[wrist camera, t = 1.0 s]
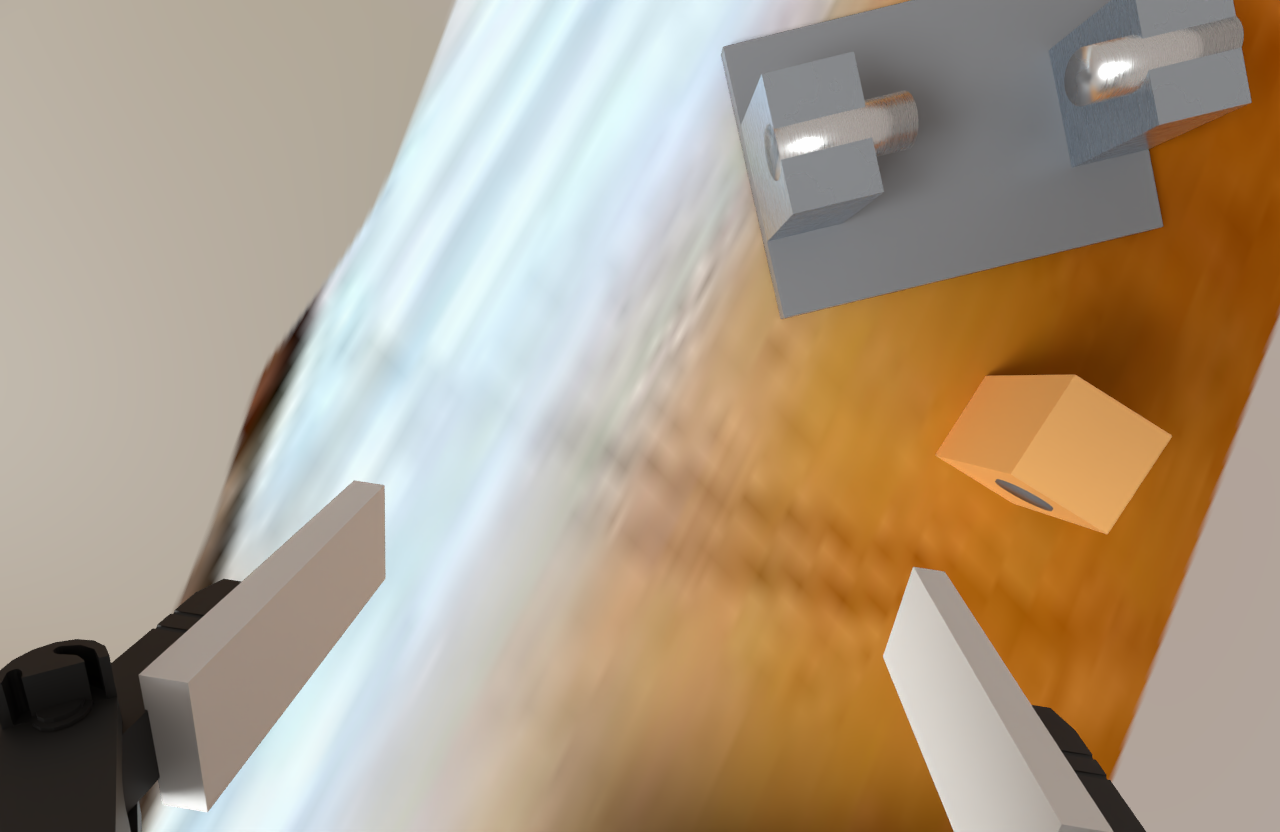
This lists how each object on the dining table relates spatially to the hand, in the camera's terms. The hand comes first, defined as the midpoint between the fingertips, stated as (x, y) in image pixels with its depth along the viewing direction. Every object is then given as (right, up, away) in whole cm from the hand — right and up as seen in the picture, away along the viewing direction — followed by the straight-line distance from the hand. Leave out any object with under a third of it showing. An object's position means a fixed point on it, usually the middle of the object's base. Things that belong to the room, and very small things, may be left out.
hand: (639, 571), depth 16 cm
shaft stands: (+16, +18, +18) cm, 30 cm away
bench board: (+16, +18, +18) cm, 30 cm away
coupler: (+19, +3, +19) cm, 27 cm away
